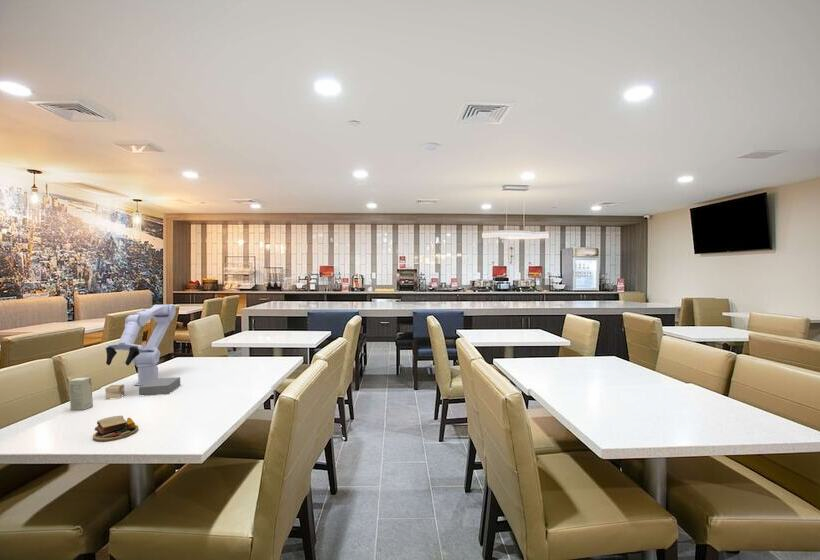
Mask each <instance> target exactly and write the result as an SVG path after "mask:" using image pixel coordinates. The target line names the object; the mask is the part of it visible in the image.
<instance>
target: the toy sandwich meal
mask: <svg viewBox="0 0 820 560" xmlns="http://www.w3.org/2000/svg"><path fill="white" fill-rule="evenodd" d="M96 425H97V426H95V427H94V431H96V432H95V433H94V434H93V435H92V438H93V439H94V440H95V441H99V442H108V441H109V440H110V441H115V440H121V439H123V438H126V437H128V436H132V435H133V434H135V432H137V430H138V429H139V425H137V424H136V423H135V422H134V421H133V419H132V418H131V417H127V418H126V420H125V418H124V415H115V416H109V417H105V418H101V419H98V420H97V421H96Z"/></svg>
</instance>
